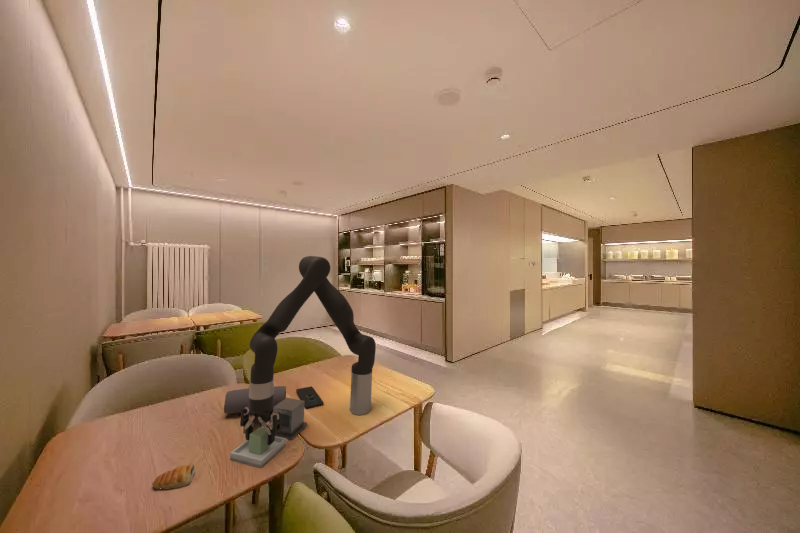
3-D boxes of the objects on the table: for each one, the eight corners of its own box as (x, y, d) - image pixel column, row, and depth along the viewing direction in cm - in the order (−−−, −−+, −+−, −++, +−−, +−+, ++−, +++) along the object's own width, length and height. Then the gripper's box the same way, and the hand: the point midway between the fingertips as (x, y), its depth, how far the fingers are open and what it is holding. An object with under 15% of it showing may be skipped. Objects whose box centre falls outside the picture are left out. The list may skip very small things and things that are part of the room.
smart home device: (305, 406, 124) (295, 389, 141) (305, 410, 124) (295, 392, 141) (324, 402, 129) (312, 385, 146) (324, 406, 129) (312, 389, 146)
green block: (258, 444, 98) (259, 427, 98) (269, 447, 97) (270, 429, 97) (248, 452, 94) (249, 434, 94) (259, 455, 93) (260, 437, 93)
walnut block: (252, 427, 110) (252, 411, 110) (261, 429, 109) (262, 413, 109) (243, 433, 106) (243, 417, 106) (252, 435, 105) (253, 419, 105)
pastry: (148, 496, 77) (149, 482, 77) (157, 479, 83) (157, 466, 83) (191, 485, 81) (191, 472, 81) (196, 470, 87) (196, 457, 87)
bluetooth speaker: (285, 403, 129) (286, 381, 129) (284, 413, 120) (285, 390, 120) (228, 409, 122) (229, 386, 122) (222, 420, 113) (223, 395, 113)
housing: (285, 420, 115) (286, 396, 115) (307, 425, 113) (308, 400, 112) (268, 434, 105) (269, 407, 105) (291, 440, 103) (292, 412, 103)
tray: (257, 438, 103) (257, 431, 103) (286, 445, 100) (286, 438, 100) (229, 459, 92) (230, 452, 92) (261, 468, 88) (261, 460, 88)
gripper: (286, 392, 97) (285, 439, 98) (252, 385, 101) (250, 431, 101) (271, 402, 90) (269, 452, 90) (235, 395, 94) (233, 443, 94)
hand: (259, 441), depth 96 cm, fingers open, 8 cm apart
